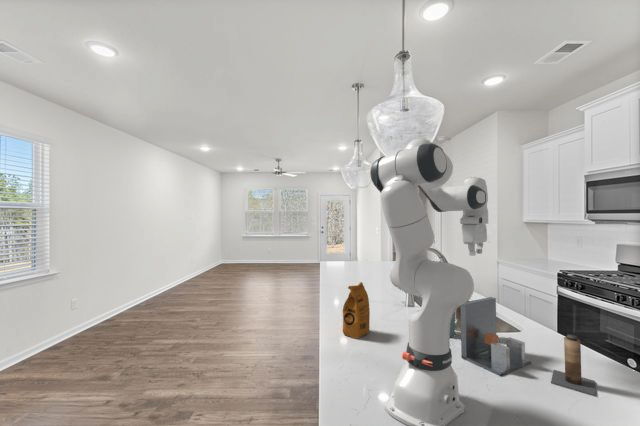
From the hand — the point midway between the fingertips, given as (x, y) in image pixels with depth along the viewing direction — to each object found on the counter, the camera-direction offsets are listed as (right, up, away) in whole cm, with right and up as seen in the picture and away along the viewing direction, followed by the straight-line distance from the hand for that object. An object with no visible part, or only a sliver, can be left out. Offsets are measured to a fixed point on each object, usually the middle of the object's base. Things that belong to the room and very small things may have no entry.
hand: (476, 254), depth 113 cm
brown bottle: (+17, -36, -24) cm, 46 cm away
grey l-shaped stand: (+2, -37, -9) cm, 38 cm away
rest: (+17, -36, -24) cm, 47 cm away
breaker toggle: (+1, -35, -8) cm, 36 cm away
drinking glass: (-6, -38, +16) cm, 41 cm away
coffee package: (-45, -38, +16) cm, 61 cm away
